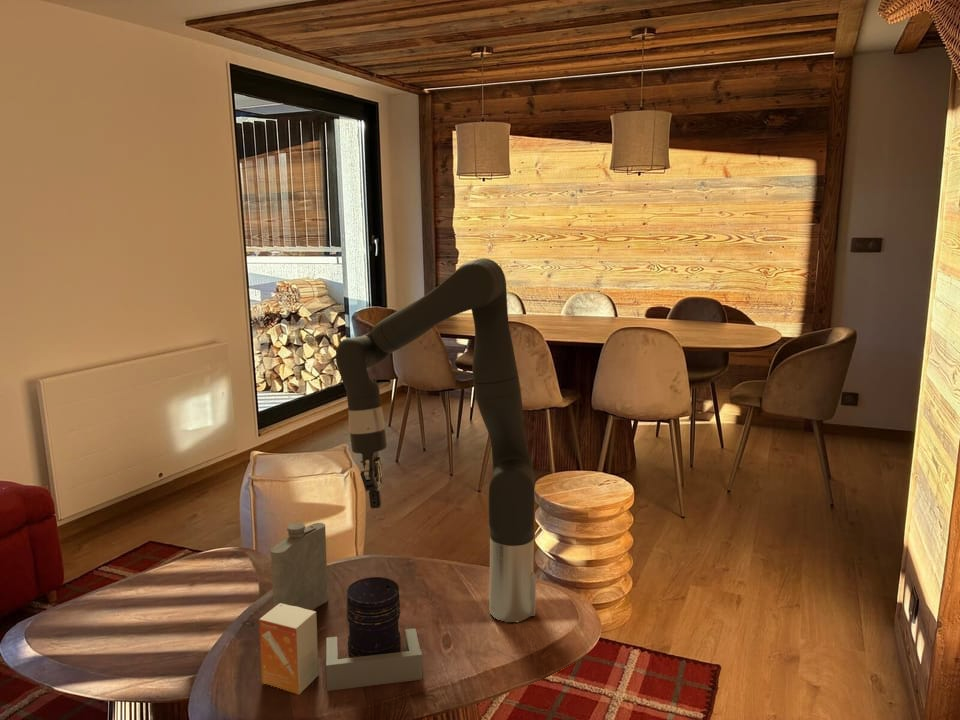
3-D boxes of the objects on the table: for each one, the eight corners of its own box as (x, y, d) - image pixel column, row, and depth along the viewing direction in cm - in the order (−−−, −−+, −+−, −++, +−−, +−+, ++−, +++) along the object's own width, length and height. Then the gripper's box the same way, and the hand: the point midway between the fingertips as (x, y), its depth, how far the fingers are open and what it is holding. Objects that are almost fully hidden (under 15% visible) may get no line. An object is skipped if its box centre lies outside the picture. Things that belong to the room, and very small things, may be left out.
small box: (261, 685, 131) (257, 618, 128) (283, 665, 137) (279, 601, 134) (299, 696, 128) (296, 628, 125) (319, 675, 134) (317, 610, 131)
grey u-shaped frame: (415, 646, 143) (415, 623, 142) (422, 679, 133) (422, 654, 132) (327, 656, 139) (326, 632, 138) (327, 690, 129) (326, 665, 128)
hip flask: (283, 634, 147) (279, 542, 143) (267, 630, 148) (263, 538, 145) (330, 598, 161) (327, 513, 157) (315, 594, 163) (312, 510, 159)
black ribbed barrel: (353, 683, 132) (351, 607, 129) (343, 653, 141) (341, 581, 138) (407, 671, 135) (406, 597, 132) (393, 643, 144) (392, 573, 141)
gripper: (379, 432, 150) (388, 514, 152) (389, 422, 163) (397, 497, 165) (343, 436, 150) (353, 517, 152) (356, 425, 164) (364, 500, 165)
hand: (376, 507), depth 158 cm, fingers closed
